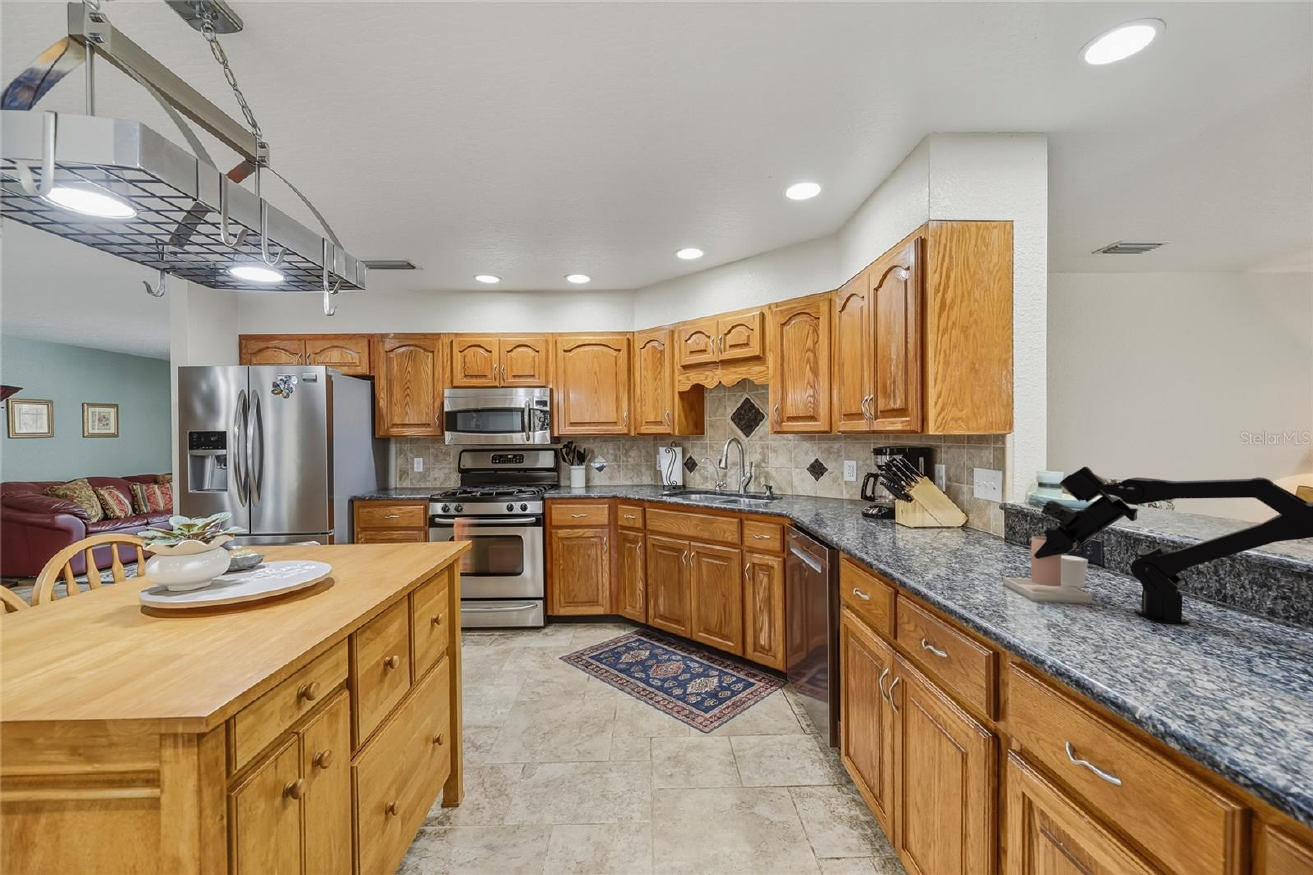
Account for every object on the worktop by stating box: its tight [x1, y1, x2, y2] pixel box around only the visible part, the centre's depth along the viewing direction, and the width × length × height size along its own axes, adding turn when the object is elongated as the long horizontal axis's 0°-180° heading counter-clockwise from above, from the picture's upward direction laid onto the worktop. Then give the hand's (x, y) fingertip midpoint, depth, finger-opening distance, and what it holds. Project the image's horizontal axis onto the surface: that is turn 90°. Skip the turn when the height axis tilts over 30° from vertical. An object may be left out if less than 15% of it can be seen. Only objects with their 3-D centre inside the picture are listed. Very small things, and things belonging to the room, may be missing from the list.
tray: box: [1002, 577, 1093, 605], centre depth 132 cm, size 13×13×2 cm
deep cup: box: [1030, 535, 1062, 586], centre depth 132 cm, size 6×6×11 cm
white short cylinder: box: [1061, 554, 1089, 588], centre depth 142 cm, size 7×7×7 cm
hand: (1039, 555), depth 133 cm, fingers closed on deep cup, 6 cm apart
